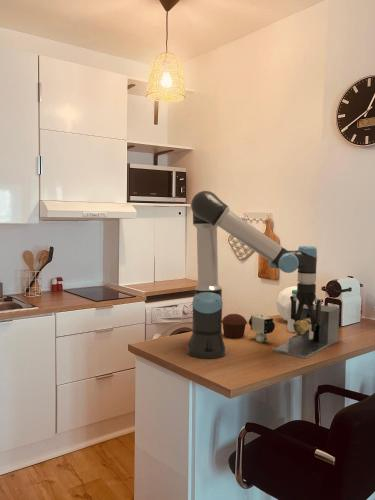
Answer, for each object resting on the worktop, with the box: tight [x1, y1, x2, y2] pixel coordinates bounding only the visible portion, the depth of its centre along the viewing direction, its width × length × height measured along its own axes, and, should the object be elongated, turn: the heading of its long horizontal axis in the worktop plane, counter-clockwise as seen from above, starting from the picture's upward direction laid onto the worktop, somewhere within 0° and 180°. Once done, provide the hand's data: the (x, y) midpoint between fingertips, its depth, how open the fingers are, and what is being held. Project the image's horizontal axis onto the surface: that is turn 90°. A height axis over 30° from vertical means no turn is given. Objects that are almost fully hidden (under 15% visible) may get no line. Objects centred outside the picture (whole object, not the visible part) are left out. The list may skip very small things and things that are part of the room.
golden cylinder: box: [293, 317, 319, 334], centre depth 188 cm, size 6×15×6 cm, turn 141°
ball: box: [275, 285, 315, 322], centre depth 232 cm, size 19×20×20 cm
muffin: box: [222, 313, 248, 340], centre depth 203 cm, size 12×11×10 cm
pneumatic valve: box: [248, 313, 276, 344], centre depth 194 cm, size 6×12×12 cm, turn 35°
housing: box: [272, 303, 340, 359], centre depth 188 cm, size 14×34×15 cm, turn 141°
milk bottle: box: [286, 290, 299, 334], centre depth 213 cm, size 8×8×20 cm
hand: (304, 337), depth 186 cm, fingers closed on golden cylinder, 5 cm apart
